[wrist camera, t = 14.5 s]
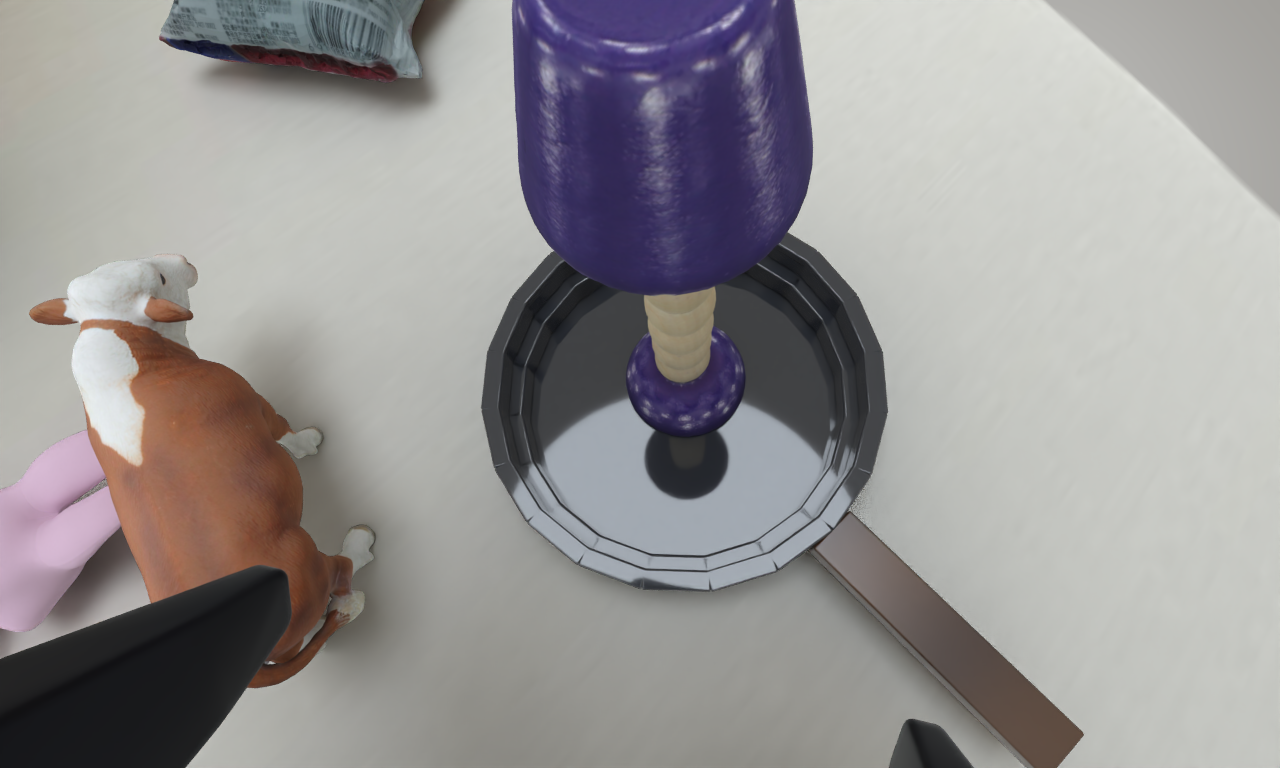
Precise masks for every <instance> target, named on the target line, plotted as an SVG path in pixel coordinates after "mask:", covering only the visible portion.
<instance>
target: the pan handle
mask: <svg viewBox="0 0 1280 768" xmlns="http://www.w3.org/2000/svg"><path fill="white" fill-rule="evenodd" d="M809 552H810V553H811V554H812V555H813V556H814V557H815V558H816V559H817V560H818V561H819V562H820V563H821V564H822V565H823V566H824V567H825V568H826V569H827V570H828V571H829V572H830V573H831V574H832V575H833V576H834V577H835V578H836V579H837V580H838V581H839V582H840V583H841V584H842V585H843V586H844V587H845V588H846V589H847V590H848V591H849V592H850V593H851V594H852V595H853V596H854V597H855V598H856V599H857V600H858V601H859V602H860V603H861V604H862V605H863V606H864V607H865V608H866V609H867V610H868V611H869V612H870V613H871V614H872V615H873V616H874V617H875V618H876V619H877V620H878V621H879V622H880V623H882V624H883V625H884V626H885V627H886V628H887V629H888V630H889V631H890V632H891V633H892V634H893V635H894V636H895V637H896V638H897V639H898V640H899V641H900V642H901V643H902V644H903V645H904V646H905V647H906V648H907V649H908V650H909V651H910V652H911V653H912V654H913V655H914V656H915V657H916V658H917V659H918V660H919V661H920V662H921V663H922V664H923V665H924V666H925V667H926V668H927V669H928V670H929V671H930V672H931V673H932V674H933V675H934V676H935V677H936V678H937V679H938V680H939V681H940V682H941V683H942V684H943V685H944V686H945V687H946V688H947V689H948V690H949V691H950V692H951V693H952V694H953V695H954V696H955V697H956V698H957V699H958V700H959V701H960V702H961V703H962V704H963V705H964V706H965V707H966V708H967V709H968V710H969V711H970V712H971V713H972V714H973V715H974V716H975V717H976V718H977V719H978V720H979V721H980V722H981V723H982V724H983V725H984V726H985V727H986V728H987V729H988V730H989V731H990V732H991V733H992V734H993V735H994V736H995V737H996V738H997V739H998V740H999V741H1000V742H1001V743H1002V744H1003V745H1004V746H1005V747H1006V748H1007V749H1008V750H1009V751H1010V752H1011V753H1012V754H1013V755H1014V756H1015V757H1016V758H1017V759H1018V760H1019V761H1020V762H1021V763H1022V764H1023V765H1024V766H1025V767H1026V768H1057V767H1058V766H1059V765H1060V763H1061V762H1062V761H1063V760H1064V759H1065V757H1066V756H1067V755H1068V754H1069V753H1070V751H1071V750H1072V749H1073V748H1074V747H1075V745H1076V744H1077V743H1078V742H1079V741H1080V739H1081V738H1082V737H1083V736H1084V734H1083V732H1082V731H1081V730H1080V729H1079V728H1078V727H1077V726H1076V725H1075V724H1074V723H1073V722H1072V721H1071V720H1070V719H1069V718H1067V717H1066V716H1065V715H1064V714H1063V713H1062V712H1061V711H1060V710H1059V709H1058V708H1057V707H1056V706H1055V705H1054V704H1053V703H1052V702H1051V701H1050V700H1049V699H1047V698H1046V697H1045V696H1044V695H1043V694H1042V693H1041V692H1040V691H1039V690H1038V689H1037V688H1036V687H1035V686H1034V685H1033V684H1032V683H1031V682H1030V681H1029V680H1028V679H1026V678H1025V677H1024V676H1023V675H1022V674H1021V673H1020V672H1019V671H1018V670H1017V669H1016V668H1015V667H1014V666H1013V665H1012V664H1011V663H1010V662H1009V661H1008V660H1006V659H1005V658H1004V657H1003V656H1002V655H1001V654H1000V653H999V652H998V651H997V650H996V649H995V648H994V647H993V646H992V645H991V644H990V643H989V642H988V641H987V640H985V639H984V638H983V637H982V636H981V635H980V634H979V633H978V632H977V631H976V630H975V629H974V628H973V627H972V626H971V625H970V624H969V623H968V622H967V621H965V620H964V619H963V618H962V617H961V616H960V615H959V614H958V613H957V612H956V611H955V610H954V609H953V608H952V607H951V606H950V605H949V604H948V603H947V602H946V601H944V600H943V599H942V598H941V597H940V596H939V595H938V594H937V593H936V592H935V591H934V590H933V589H932V588H931V587H930V586H929V585H928V584H927V583H926V582H924V581H923V580H922V579H921V578H920V577H919V576H918V575H917V574H916V573H915V572H914V571H913V570H912V569H911V568H910V567H909V566H908V565H907V564H906V563H905V562H903V561H902V560H901V559H900V558H899V557H898V556H897V555H896V554H895V553H894V552H893V551H892V550H891V549H890V548H889V547H888V546H887V545H886V544H885V543H883V542H882V541H881V540H880V539H879V538H878V537H877V536H876V535H875V534H874V533H873V532H872V531H871V530H870V529H869V528H868V527H867V526H866V525H865V524H864V523H862V522H861V521H860V520H859V519H858V518H857V517H856V516H855V515H854V514H853V513H852V512H850V511H849V512H847V513H846V514H845V515H844V517H843V518H842V520H841V521H840V523H839V524H838V526H837V527H836V529H834V530H833V531H832V533H830V534H829V535H828V536H826V537H825V538H824V539H822V540H821V541H819V542H818V543H817V544H815V545H814V546H813V547H811V548H810V549H809Z"/></svg>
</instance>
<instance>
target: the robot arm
mask: <svg viewBox="0 0 1280 768" xmlns="http://www.w3.org/2000/svg"><path fill="white" fill-rule="evenodd" d="M291 616H292V607H291V598H290V589H289V580H288V575H287V574H286V572H285V571H284V570H282V569H279V568H275V567H270V566H266V565H255V566H252V567H249V568H246V569H244V570H241V571H238V572H235V573H233V574H230V575H227V576H224V577H222V578H219V579H216V580H214V581H211V582H208V583H205V584H203V585H200V586H197V587H195V588H192V589H189V590H186V591H184V592H181V593H178V594H175V595H173V596H170V597H167V598H165V599H162V600H159V601H156V602H154V603H151V604H148V605H146V606H143V607H140V608H137V609H135V610H132V611H129V612H126V613H124V614H121V615H118V616H116V617H113V618H110V619H107V620H105V621H102V622H99V623H97V624H94V625H91V626H88V627H86V628H83V629H80V630H77V631H75V632H72V633H69V634H67V635H64V636H61V637H58V638H56V639H53V640H50V641H48V642H45V643H42V644H39V645H37V646H34V647H31V648H28V649H26V650H23V651H20V652H18V653H15V654H12V655H9V656H7V657H4V658H1V659H0V768H186V766H187V765H188V764H189V763H190V762H191V760H192V759H193V758H194V757H195V756H196V754H197V753H198V752H199V751H200V749H201V748H202V747H203V746H204V745H205V743H206V742H207V741H208V740H209V738H210V737H211V736H212V735H213V733H214V732H215V731H216V730H217V728H218V727H219V726H220V725H221V723H222V722H223V720H224V719H225V718H226V716H227V715H228V714H229V712H230V711H231V710H232V708H233V707H234V705H235V704H236V702H237V701H238V700H239V698H240V697H241V695H242V694H243V692H244V691H245V689H246V688H247V687H248V685H249V684H250V682H251V681H252V679H253V678H254V676H255V675H256V674H257V672H258V671H259V669H260V668H261V666H262V665H263V663H264V662H265V660H266V659H267V658H268V656H269V655H270V653H271V652H272V650H273V649H274V647H275V646H276V645H277V643H278V642H279V640H280V639H281V637H282V636H283V634H284V633H285V632H286V630H287V628H288V626H289V624H290V621H291ZM889 768H974V767H973V766H972V765H971V763H970V762H969V761H968V760H967V758H966V757H965V756H964V755H963V753H962V752H961V751H960V749H959V748H958V747H957V746H956V744H955V743H954V742H953V741H952V739H951V738H950V737H949V735H948V734H947V733H946V732H945V731H944V729H942V728H941V727H940V726H938V725H936V724H932V723H928V722H924V721H920V720H915V719H908V720H906V722H905V723H904V724H903V726H902V729H901V732H900V735H899V738H898V741H897V744H896V746H895V749H894V752H893V755H892V758H891V761H890V765H889Z"/></svg>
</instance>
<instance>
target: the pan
mask: <svg viewBox="0 0 1280 768" xmlns="http://www.w3.org/2000/svg"><path fill="white" fill-rule="evenodd" d="M715 291H716V303H715V308H714V311H713V316H714V323H713V325H714V326H715V327H717V328H718V329H720V330H721V331H723V332H724V333H725V334H727V335H728V336H729V338H730V339H731V340H732V341H733V342H734V344H735V345H736V347H737V348H738V350H739V352H740V354H741V357H742V359H743V363H744V367H745V374H746V380H745V390H744V394H743V397H742V400H741V402H740V404H739V405H738V407H737V409H736V410H735V412H734V413H733V415H732V416H731V417H730V418H729V419H728V420H727V421H726V422H725V423H724V424H723V425H721V426H720V427H718V428H717V429H714V430H712V431H710V432H708V433H706V434H702V435H698V436H690V437H682V436H673V435H669V434H666V433H663V432H661V431H658V430H657V429H655V428H654V427H652V426H651V425H649V424H648V423H647V422H645V421H644V419H642V418H641V417H640V416H639V414H638V413H637V412H636V410H635V409H634V407H633V405H632V404H631V401H630V399H629V395H628V391H627V387H626V371H627V364H628V362H629V358H630V356H631V354H632V352H633V350H634V348H635V347H636V345H637V344H638V342H639V341H640V340H641V339H642V338H643V336H644V335H645V334H647V333H648V332H649V329H648V316H647V314H646V311H645V306H644V295H642V294H635V293H628V292H626V291H623V290H619V289H615V288H611V287H607V286H606V285H604V284H602V283H600V282H598V281H595V280H593V279H591V278H589V277H586V276H584V275H582V274H581V273H579V272H578V271H577V270H575V269H574V268H573V267H571V266H570V265H569V264H568V263H567V262H566V261H564V260H563V259H562V258H561V257H560V256H559V255H558V254H557V253H556V252H555V251H553V252H552V253H550V255H548V256H547V257H546V258H545V259H544V261H543V262H542V263H541V264H540V265H539V266H538V267H537V269H536V270H535V271H534V272H533V273H532V274H531V275H530V277H529V278H528V279H527V280H526V281H525V282H524V283H523V285H522V286H521V287H520V288H519V289H518V290H517V292H516V293H515V294H514V295H513V296H512V298H511V299H510V302H509V304H508V306H507V308H506V311H505V313H504V315H503V317H502V320H501V322H500V324H499V326H498V329H497V331H496V333H495V335H494V338H493V340H492V342H491V344H490V347H489V351H488V352H487V359H486V369H485V378H484V387H483V396H482V406H481V409H482V415H483V420H484V424H485V429H486V433H487V438H488V443H489V447H490V452H491V456H492V461H493V466H494V468H495V471H496V473H497V474H498V476H499V478H500V479H501V481H502V483H503V484H504V486H505V488H506V489H507V491H508V493H509V494H510V496H511V498H512V499H513V501H514V503H515V504H516V506H517V508H518V509H519V511H520V512H521V514H522V516H523V517H524V519H525V521H526V522H528V524H529V525H530V526H531V527H532V528H533V529H535V530H536V531H537V532H538V533H539V534H541V535H542V536H543V537H544V538H545V539H547V540H548V541H549V542H550V543H551V544H553V545H554V546H555V547H556V548H557V549H559V550H560V551H561V552H562V553H563V554H565V555H566V556H567V557H568V558H569V559H571V560H572V561H573V562H574V563H575V564H577V565H579V566H581V567H583V568H586V569H589V570H591V571H594V572H597V573H599V574H602V575H604V576H607V577H610V578H612V579H615V580H618V581H620V582H623V583H625V584H628V585H631V586H633V587H636V588H638V589H644V590H666V591H695V592H710V591H716V590H720V589H723V588H726V587H730V586H733V585H736V584H739V583H743V582H746V581H749V580H753V579H756V578H759V577H762V576H766V575H769V574H772V573H775V572H777V571H779V570H781V569H783V568H784V567H785V566H787V565H788V564H789V563H791V562H792V561H794V560H795V559H796V558H798V557H799V556H800V555H802V554H803V553H804V552H806V551H807V550H809V549H810V548H811V547H813V546H814V545H815V544H817V543H818V542H819V541H821V540H822V539H824V538H825V537H826V536H828V535H829V534H830V533H832V531H833V530H834V529H836V527H837V526H838V524H839V523H840V521H841V520H842V518H843V517H844V515H845V514H846V513H847V511H848V510H849V508H850V507H851V505H852V504H853V502H854V501H855V499H856V498H857V496H858V495H859V493H860V492H861V491H862V489H863V488H864V486H865V485H866V483H867V482H868V480H869V479H870V477H871V476H870V475H871V474H872V472H873V468H874V465H875V461H876V457H877V453H878V449H879V445H880V442H881V438H882V434H883V430H884V426H885V422H886V419H887V413H888V407H887V395H886V383H885V372H884V360H883V352H882V349H881V347H880V344H879V342H878V340H877V338H876V335H875V333H874V331H873V329H872V326H871V324H870V322H869V319H868V317H867V315H866V313H865V310H864V308H863V306H862V304H861V301H860V299H859V297H858V296H857V294H856V293H855V292H854V290H853V289H852V288H851V287H850V286H849V285H848V284H847V283H846V281H845V280H844V279H843V278H842V277H841V276H840V275H839V274H838V273H837V271H836V270H835V269H834V268H833V267H832V266H831V265H830V264H829V262H828V261H827V260H826V259H825V258H824V257H823V256H822V255H821V254H820V252H817V250H816V249H814V248H813V247H811V246H809V245H808V244H806V243H804V242H803V241H801V240H799V239H798V238H796V237H794V236H793V235H791V234H789V233H788V232H787V233H786V234H785V236H784V237H783V239H782V241H781V242H780V243H779V244H778V245H776V246H775V247H774V248H773V250H772V251H771V252H770V253H769V254H768V255H767V256H766V257H765V258H764V259H762V260H761V261H760V262H759V263H757V264H756V265H754V266H753V267H751V268H750V269H749V270H747V271H746V272H744V273H742V274H740V275H738V276H737V277H735V278H733V279H731V280H729V281H727V282H724V283H721V284H719V285H716V286H715Z"/></svg>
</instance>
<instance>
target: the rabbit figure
mask: <svg viewBox="0 0 1280 768" xmlns="http://www.w3.org/2000/svg"><path fill="white" fill-rule="evenodd" d="M105 478H106V476H105V474H104V472H103V469H102V467H101V465H100V463H99V461H98V459H97V457H96V455H95V453H94V450H93V448H92V446H91V443H90V440H89V437H88V432H87V430H84V431H81V432H78V433H76V434H73V435H71V436H69V437H67V438H65V439H63V440H61V441H59V442H57V443H55V444H54V445H52V446H51V447H49V448H48V449H46V450H45V451H44V452H43V453H42V454H40V455H39V456H38V457H37V458H36V459H35V460H34V461H33V462H32V464H31V465H30V467H29V468H28V470H27V471H26V473H25V474H24V476H23V477H22V478H21V479H20V481H18V482H17V483H16V484H14V485H12V486H9V487H6V488H3V489H0V628H2V629H5V630H9V631H14V632H25V631H30V630H32V629H34V628H36V627H37V626H38V625H39V624H40V623H41V622H42V621H43V620H44V619H45V618H46V616H47V615H48V614H49V612H50V611H51V610H52V608H53V607H54V606H55V605H56V603H57V602H58V601H59V599H60V598H61V597H62V596H63V594H64V593H65V592H66V591H67V589H68V588H69V587H70V586H71V584H72V583H73V582H74V581H75V579H76V578H77V577H78V576H79V574H80V573H81V571H82V569H83V568H84V566H85V564H86V562H87V561H88V560H89V559H90V558H91V557H92V556H93V555H94V554H95V552H96V551H97V550H98V549H99V548H100V547H101V546H102V545H103V543H104V542H105V541H106V540H107V539H108V538H109V537H110V536H111V535H113V534H114V533H115V532H116V531H117V530H118V529H119V528H120V527H121V524H120V521H119V518H118V516H117V513H116V510H115V507H114V505H113V502H112V499H111V495H110V491H109V487H108V486H106V487H104V488H102V489H101V490H99V491H97V492H96V493H94V494H92V495H90V496H89V497H87V498H85V499H83V500H81V501H79V502H77V503H75V504H73V502H74V501H75V500H77V499H78V498H80V497H81V496H82V495H84V494H85V493H87V492H88V491H89V490H91V489H92V488H94V487H95V486H96V485H98V484H99V483H100V482H101V481H103V480H104V479H105Z"/></svg>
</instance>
